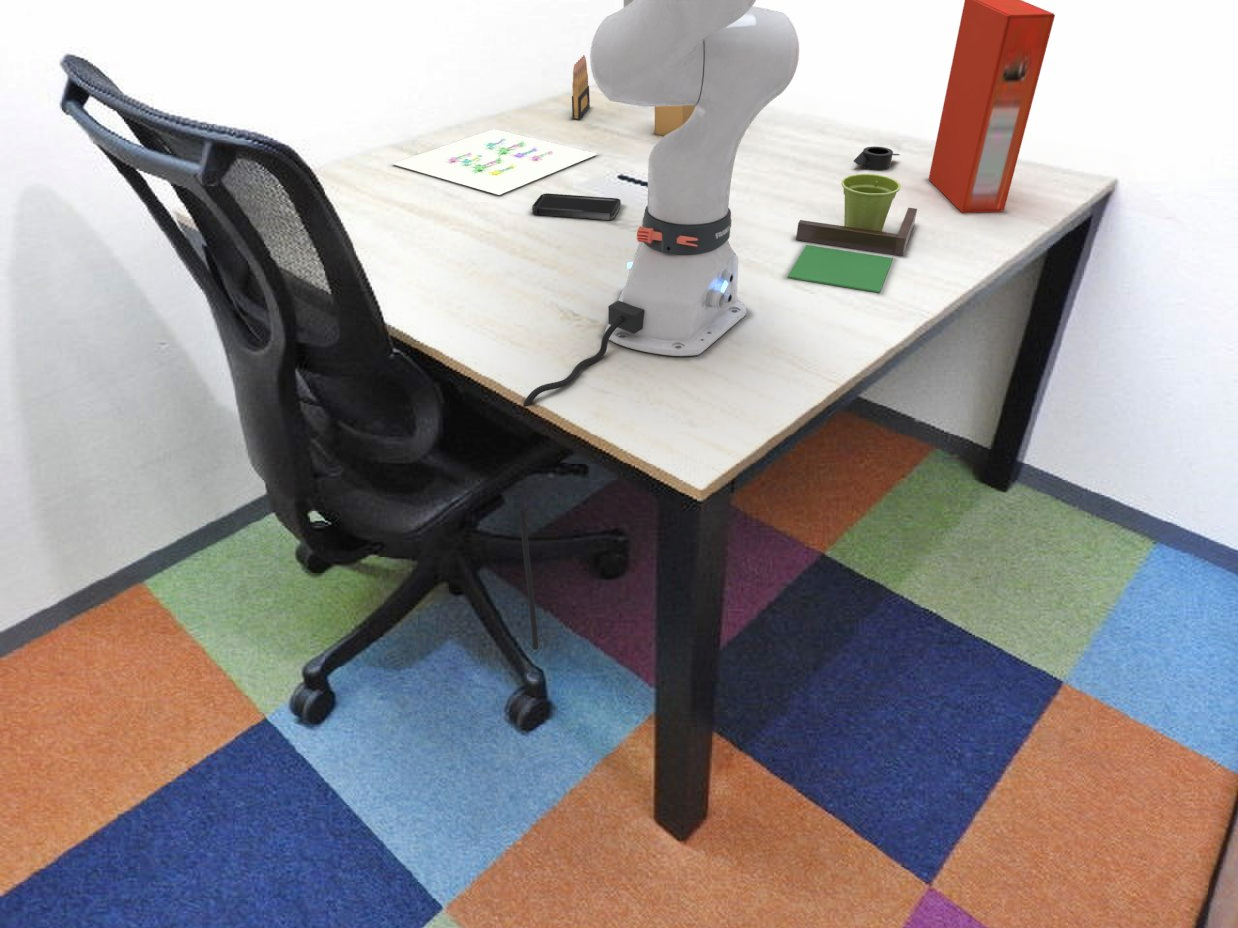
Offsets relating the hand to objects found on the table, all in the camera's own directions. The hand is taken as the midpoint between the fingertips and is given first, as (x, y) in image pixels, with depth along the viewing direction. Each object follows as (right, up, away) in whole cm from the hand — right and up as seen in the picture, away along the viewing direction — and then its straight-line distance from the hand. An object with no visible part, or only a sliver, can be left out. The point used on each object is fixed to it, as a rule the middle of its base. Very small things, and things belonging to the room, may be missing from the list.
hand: (657, 9), depth 134 cm
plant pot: (+35, -31, +14) cm, 49 cm away
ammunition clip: (-15, +13, +72) cm, 75 cm away
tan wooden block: (+6, +3, +59) cm, 60 cm away
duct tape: (+46, -10, +42) cm, 63 cm away
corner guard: (+34, -31, +14) cm, 48 cm away
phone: (-14, -24, +23) cm, 36 cm away
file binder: (+58, -20, +28) cm, 68 cm away
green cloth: (+29, -39, +3) cm, 49 cm away
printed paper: (-31, -8, +45) cm, 55 cm away
